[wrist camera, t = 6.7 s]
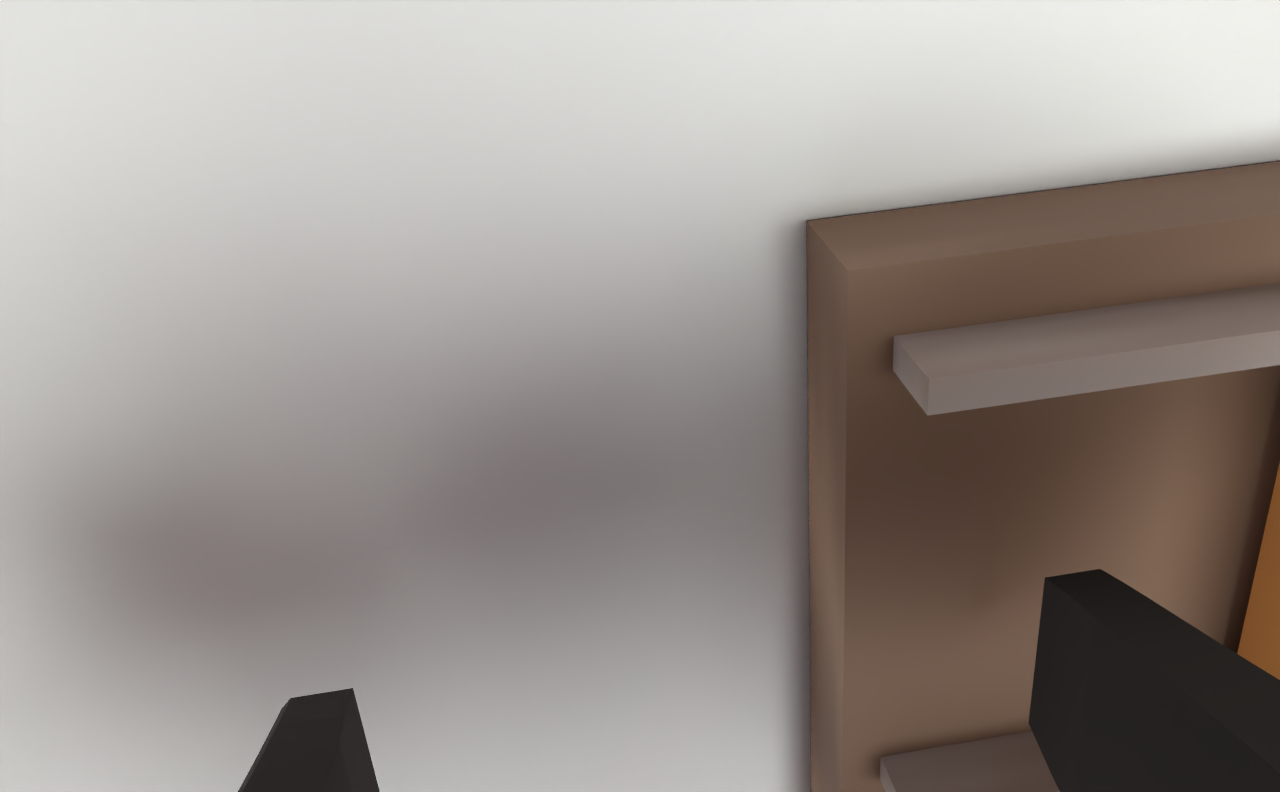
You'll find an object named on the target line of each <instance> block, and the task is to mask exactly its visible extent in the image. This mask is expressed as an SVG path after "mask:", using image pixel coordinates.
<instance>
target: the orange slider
mask: <svg viewBox="0 0 1280 792" xmlns="http://www.w3.org/2000/svg"><path fill="white" fill-rule="evenodd" d="M1237 654H1238V655H1240V656H1241V657H1243V658H1245V659H1246V660H1248V661H1249V662H1251V663H1253V664H1254V665H1256V666H1258V667H1259V668H1261V669H1263V670H1264V671H1266V672H1267V673H1269V674H1271V675H1272V676H1274V677H1276V678H1277V679H1279V680H1280V462H1279V467H1278V471H1277V476H1276V480H1275V485H1274V490H1273V494H1272V499H1271V503H1270V508H1269V512H1268V517H1267V521H1266V526H1265V530H1264V535H1263V539H1262V544H1261V548H1260V553H1259V557H1258V562H1257V566H1256V571H1255V575H1254V580H1253V585H1252V589H1251V594H1250V598H1249V603H1248V607H1247V612H1246V616H1245V621H1244V625H1243V630H1242V634H1241V639H1240V643H1239V648H1238V652H1237Z"/></svg>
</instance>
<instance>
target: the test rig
mask: <svg viewBox="0 0 1280 792" xmlns="http://www.w3.org/2000/svg"><path fill="white" fill-rule="evenodd" d="M807 323H808V452H809V581H810V709H811V792H1060V791H1059V789H1058V787H1057V785H1056V783H1055V781H1054V779H1053V776H1052V774H1051V772H1050V770H1049V768H1048V766H1047V763H1046V761H1045V759H1044V757H1043V754H1042V752H1041V750H1040V748H1039V745H1038V743H1037V741H1036V739H1035V736H1034V734H1033V732H1032V730H1031V727H1030V725H1029V723H1028V722H1029V714H1030V705H1031V696H1032V687H1033V678H1034V669H1035V660H1036V651H1037V642H1038V634H1039V625H1040V616H1041V607H1042V598H1043V589H1044V580H1045V577H1052V576H1058V575H1064V574H1070V573H1077V572H1083V571H1089V570H1095V569H1101V570H1103V571H1105V572H1107V573H1108V574H1110V575H1112V576H1113V577H1115V578H1117V579H1119V580H1120V581H1122V582H1124V583H1125V584H1127V585H1128V586H1130V587H1132V588H1133V589H1135V590H1137V591H1138V592H1140V593H1141V594H1143V595H1145V596H1146V597H1148V598H1149V599H1151V600H1153V601H1154V602H1156V603H1157V604H1159V605H1160V606H1162V607H1164V608H1165V609H1167V610H1168V611H1170V612H1172V613H1173V614H1175V615H1176V616H1178V617H1179V618H1181V619H1183V620H1184V621H1186V622H1187V623H1189V624H1190V625H1192V626H1194V627H1195V628H1197V629H1198V630H1200V631H1202V632H1203V633H1205V634H1206V635H1208V636H1209V637H1211V638H1213V639H1214V640H1216V641H1217V642H1219V643H1221V644H1222V645H1224V646H1225V647H1227V648H1229V649H1230V650H1232V651H1233V652H1235V653H1237V652H1238V648H1239V643H1240V639H1241V634H1242V630H1243V625H1244V621H1245V616H1246V612H1247V607H1248V603H1249V598H1250V594H1251V589H1252V585H1253V580H1254V575H1255V571H1256V566H1257V562H1258V557H1259V553H1260V548H1261V544H1262V539H1263V535H1264V530H1265V526H1266V521H1267V517H1268V512H1269V508H1270V503H1271V499H1272V494H1273V490H1274V485H1275V480H1276V476H1277V471H1278V467H1279V462H1280V161H1278V162H1270V163H1262V164H1254V165H1246V166H1238V167H1230V168H1222V169H1214V170H1206V171H1198V172H1190V173H1182V174H1175V175H1167V176H1159V177H1151V178H1143V179H1135V180H1127V181H1119V182H1111V183H1103V184H1095V185H1087V186H1079V187H1072V188H1064V189H1056V190H1048V191H1040V192H1032V193H1024V194H1016V195H1008V196H1000V197H992V198H984V199H976V200H969V201H961V202H953V203H945V204H937V205H929V206H921V207H913V208H905V209H897V210H889V211H881V212H874V213H866V214H858V215H850V216H842V217H834V218H826V219H818V220H810V221H807Z"/></svg>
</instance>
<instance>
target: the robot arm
mask: <svg viewBox="0 0 1280 792" xmlns="http://www.w3.org/2000/svg"><path fill="white" fill-rule="evenodd" d="M1028 723H1029V725H1030V727H1031V730H1032V732H1033V734H1034V736H1035V739H1036V741H1037V743H1038V745H1039V748H1040V750H1041V752H1042V754H1043V757H1044V759H1045V761H1046V763H1047V766H1048V768H1049V770H1050V772H1051V774H1052V776H1053V779H1054V781H1055V783H1056V785H1057V787H1058V789H1059V791H1060V792H1280V680H1279V679H1277V678H1276V677H1274V676H1272V675H1271V674H1269V673H1267V672H1266V671H1264V670H1263V669H1261V668H1259V667H1258V666H1256V665H1254V664H1253V663H1251V662H1249V661H1248V660H1246V659H1245V658H1243V657H1241V656H1240V655H1238V654H1237V653H1235V652H1233V651H1232V650H1230V649H1229V648H1227V647H1225V646H1224V645H1222V644H1221V643H1219V642H1217V641H1216V640H1214V639H1213V638H1211V637H1209V636H1208V635H1206V634H1205V633H1203V632H1202V631H1200V630H1198V629H1197V628H1195V627H1194V626H1192V625H1190V624H1189V623H1187V622H1186V621H1184V620H1183V619H1181V618H1179V617H1178V616H1176V615H1175V614H1173V613H1172V612H1170V611H1168V610H1167V609H1165V608H1164V607H1162V606H1160V605H1159V604H1157V603H1156V602H1154V601H1153V600H1151V599H1149V598H1148V597H1146V596H1145V595H1143V594H1141V593H1140V592H1138V591H1137V590H1135V589H1133V588H1132V587H1130V586H1128V585H1127V584H1125V583H1124V582H1122V581H1120V580H1119V579H1117V578H1115V577H1113V576H1112V575H1110V574H1108V573H1107V572H1105V571H1103V570H1101V569H1095V570H1089V571H1083V572H1077V573H1070V574H1064V575H1058V576H1052V577H1045V580H1044V589H1043V598H1042V607H1041V616H1040V625H1039V634H1038V642H1037V651H1036V660H1035V669H1034V678H1033V687H1032V696H1031V705H1030V714H1029V722H1028ZM238 792H379V788H378V784H377V780H376V776H375V772H374V768H373V765H372V761H371V757H370V753H369V749H368V745H367V741H366V738H365V734H364V730H363V726H362V722H361V718H360V714H359V710H358V707H357V703H356V699H355V695H354V691H353V688H351V689H345V690H339V691H332V692H326V693H320V694H314V695H307V696H301V697H295V698H291V699H290V700H289V701H288V702H287V703H286V704H285V706H284V707H283V708H282V709H281V711H280V713H279V715H278V717H277V719H276V721H275V723H274V725H273V727H272V729H271V731H270V733H269V735H268V737H267V739H266V741H265V742H264V744H263V746H262V748H261V750H260V752H259V754H258V756H257V758H256V760H255V762H254V763H253V765H252V767H251V769H250V771H249V773H248V775H247V776H246V778H245V780H244V782H243V784H242V785H241V787H240V789H239V791H238Z"/></svg>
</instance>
